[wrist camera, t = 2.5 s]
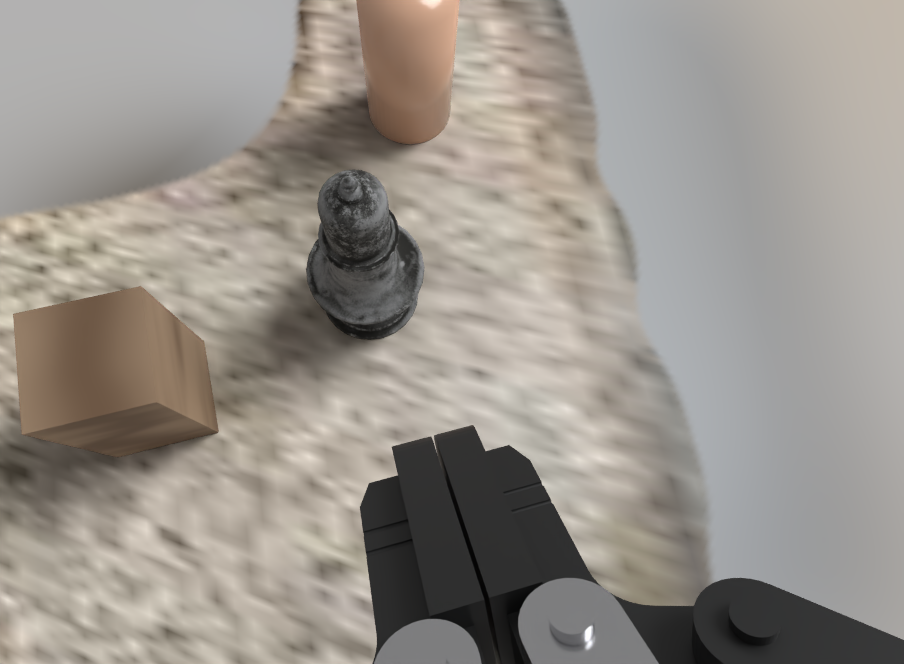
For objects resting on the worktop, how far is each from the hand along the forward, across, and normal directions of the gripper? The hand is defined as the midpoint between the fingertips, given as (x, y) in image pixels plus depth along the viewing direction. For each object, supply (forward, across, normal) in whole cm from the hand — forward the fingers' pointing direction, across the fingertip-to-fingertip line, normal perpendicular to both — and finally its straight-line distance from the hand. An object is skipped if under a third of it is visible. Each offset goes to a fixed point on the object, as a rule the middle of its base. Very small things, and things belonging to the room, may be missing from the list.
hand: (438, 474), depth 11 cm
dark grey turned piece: (+24, 0, +7) cm, 24 cm away
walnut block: (+21, +12, +8) cm, 26 cm away
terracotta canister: (+31, -5, -2) cm, 32 cm away
